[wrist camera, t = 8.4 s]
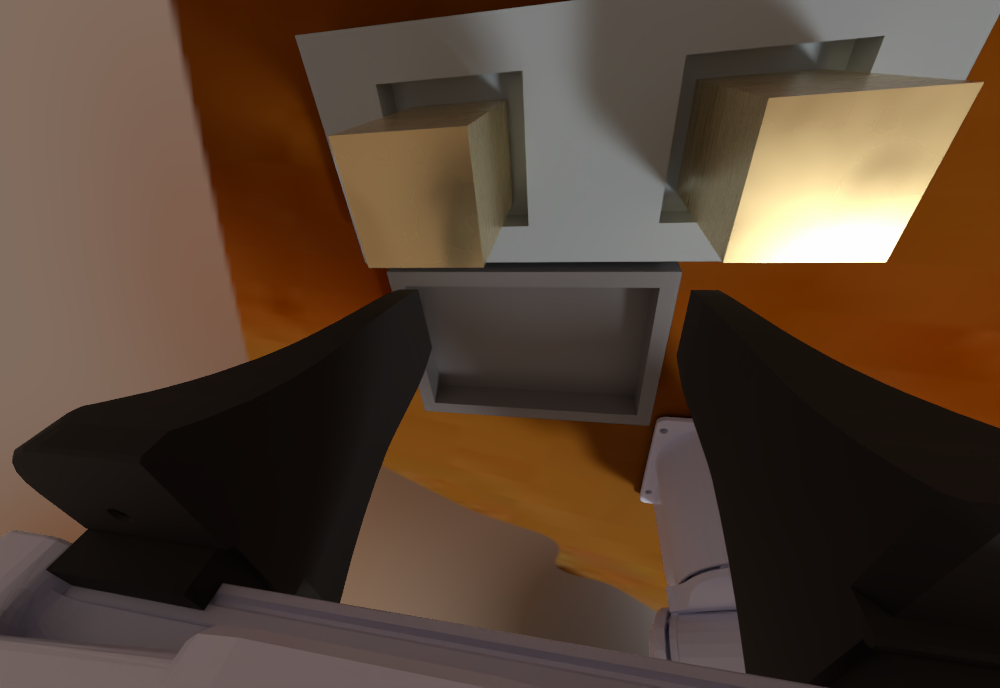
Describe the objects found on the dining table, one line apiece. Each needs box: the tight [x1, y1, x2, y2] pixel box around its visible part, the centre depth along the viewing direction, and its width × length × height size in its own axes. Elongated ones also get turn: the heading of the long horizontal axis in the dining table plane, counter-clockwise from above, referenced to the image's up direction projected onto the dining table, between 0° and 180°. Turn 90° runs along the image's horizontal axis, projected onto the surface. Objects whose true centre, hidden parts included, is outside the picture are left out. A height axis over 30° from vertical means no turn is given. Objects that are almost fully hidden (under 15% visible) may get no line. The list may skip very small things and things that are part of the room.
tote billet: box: [328, 99, 514, 268], centre depth 14 cm, size 4×4×7 cm
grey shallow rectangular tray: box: [387, 261, 682, 426], centre depth 22 cm, size 10×14×2 cm
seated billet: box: [676, 69, 984, 263], centre depth 12 cm, size 4×4×7 cm
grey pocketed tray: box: [295, 0, 1000, 263], centre depth 16 cm, size 9×22×2 cm, turn 95°
